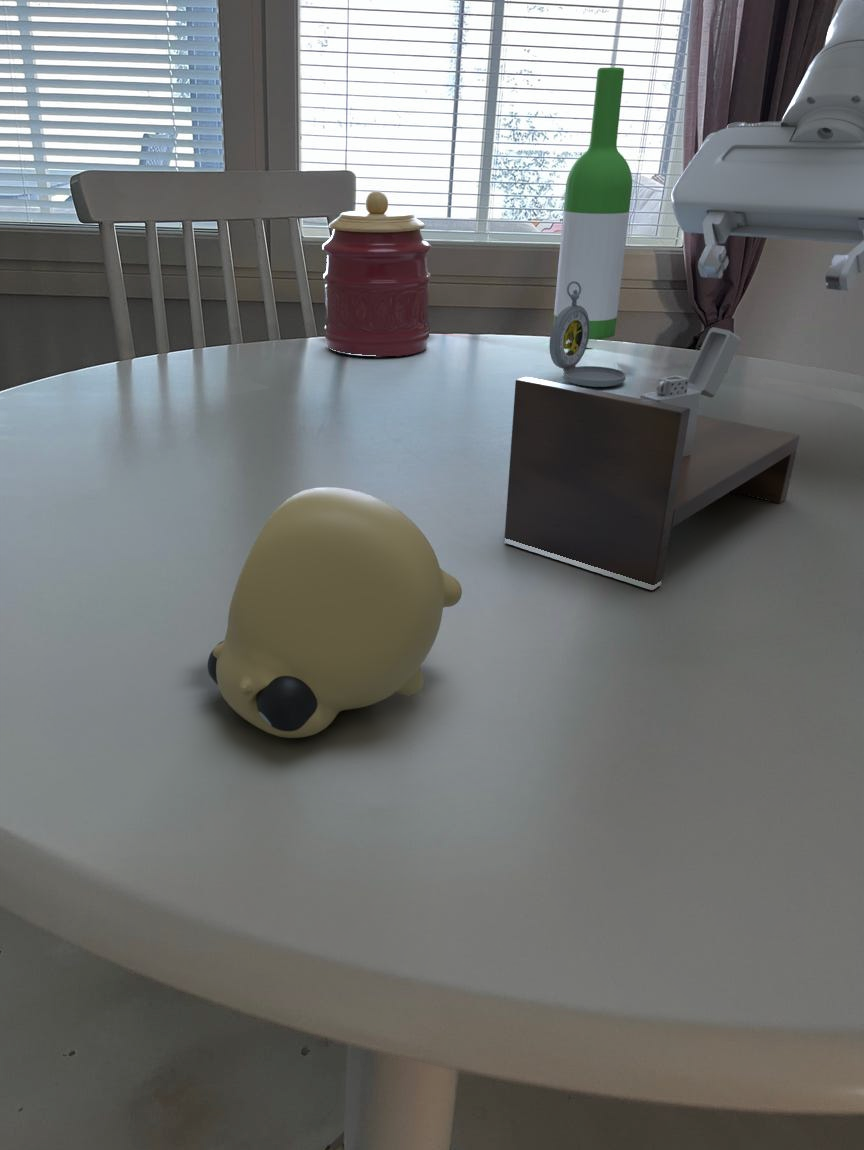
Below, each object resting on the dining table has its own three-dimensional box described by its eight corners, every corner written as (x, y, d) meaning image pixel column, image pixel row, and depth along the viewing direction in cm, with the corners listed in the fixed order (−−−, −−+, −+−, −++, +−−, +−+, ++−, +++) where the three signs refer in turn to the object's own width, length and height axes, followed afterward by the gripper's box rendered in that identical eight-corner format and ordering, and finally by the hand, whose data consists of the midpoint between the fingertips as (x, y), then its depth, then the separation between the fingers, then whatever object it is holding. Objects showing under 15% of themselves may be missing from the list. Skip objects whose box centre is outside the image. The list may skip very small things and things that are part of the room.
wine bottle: (565, 352, 115) (593, 65, 100) (542, 339, 121) (564, 69, 107) (624, 349, 116) (659, 67, 102) (597, 337, 123) (627, 70, 108)
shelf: (786, 499, 70) (819, 350, 65) (652, 592, 57) (681, 412, 51) (652, 467, 77) (673, 329, 71) (503, 544, 63) (515, 379, 58)
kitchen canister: (303, 346, 117) (297, 190, 108) (380, 333, 125) (380, 186, 116) (372, 364, 109) (372, 197, 100) (450, 348, 116) (456, 191, 108)
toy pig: (287, 714, 51) (128, 637, 44) (406, 531, 51) (266, 424, 44) (384, 806, 44) (212, 731, 37) (524, 592, 44) (378, 476, 37)
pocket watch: (626, 391, 98) (639, 291, 93) (545, 387, 100) (554, 288, 95) (622, 373, 105) (634, 279, 101) (547, 370, 107) (555, 276, 102)
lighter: (649, 464, 62) (667, 340, 58) (630, 457, 63) (646, 335, 59) (721, 447, 65) (743, 329, 61) (702, 441, 67) (722, 324, 63)
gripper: (705, 92, 73) (629, 238, 72) (1002, 83, 61) (918, 259, 60) (721, 154, 78) (650, 292, 77) (997, 158, 66) (919, 322, 65)
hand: (769, 278), depth 68 cm, fingers open, 8 cm apart
